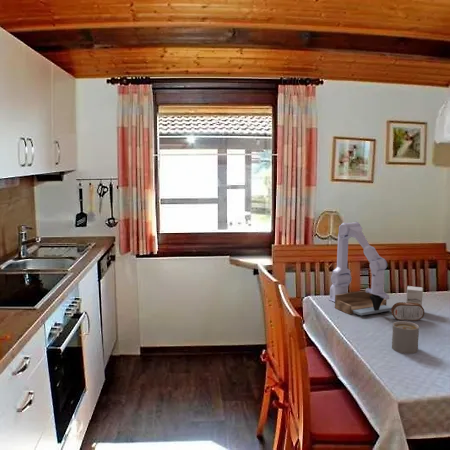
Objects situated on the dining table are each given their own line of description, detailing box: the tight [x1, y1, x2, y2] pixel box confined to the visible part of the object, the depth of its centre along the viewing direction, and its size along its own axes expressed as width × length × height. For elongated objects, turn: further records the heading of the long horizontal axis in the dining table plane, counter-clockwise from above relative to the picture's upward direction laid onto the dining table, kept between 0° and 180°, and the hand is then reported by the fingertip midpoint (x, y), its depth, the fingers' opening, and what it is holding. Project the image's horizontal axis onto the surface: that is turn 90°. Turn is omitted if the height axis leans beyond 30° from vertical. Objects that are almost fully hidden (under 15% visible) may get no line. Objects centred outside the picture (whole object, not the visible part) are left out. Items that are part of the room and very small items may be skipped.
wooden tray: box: [334, 289, 388, 315], centre depth 257 cm, size 12×24×7 cm, turn 115°
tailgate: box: [353, 304, 392, 316], centre depth 249 cm, size 2×20×6 cm
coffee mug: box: [391, 320, 420, 355], centre depth 204 cm, size 13×10×10 cm
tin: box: [390, 301, 425, 322], centre depth 238 cm, size 15×3×8 cm, turn 84°
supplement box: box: [405, 285, 424, 307], centre depth 249 cm, size 7×7×13 cm
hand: (376, 309), depth 246 cm, fingers closed
